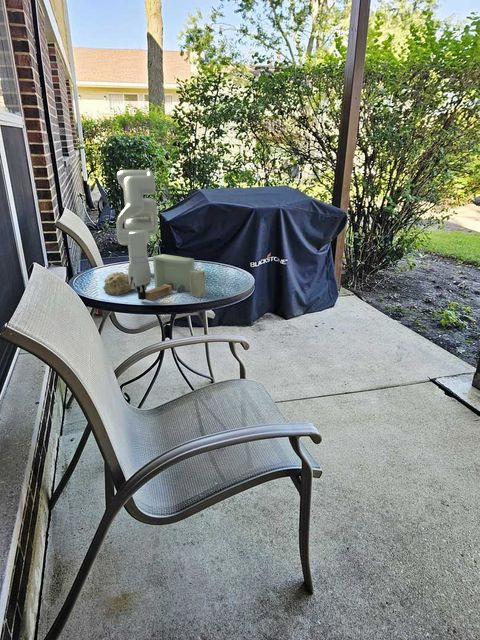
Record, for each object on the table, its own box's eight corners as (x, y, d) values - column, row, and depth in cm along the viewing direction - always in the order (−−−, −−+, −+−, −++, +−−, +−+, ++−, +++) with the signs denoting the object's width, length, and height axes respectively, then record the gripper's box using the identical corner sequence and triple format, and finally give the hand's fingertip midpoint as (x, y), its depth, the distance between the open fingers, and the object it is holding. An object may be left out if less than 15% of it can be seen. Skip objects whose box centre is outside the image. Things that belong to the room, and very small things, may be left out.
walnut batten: (144, 299, 193) (143, 291, 192) (165, 291, 205) (165, 284, 204) (150, 300, 191) (150, 293, 190) (171, 292, 203) (171, 285, 202)
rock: (116, 285, 218) (119, 266, 215) (141, 293, 217) (145, 274, 214) (96, 292, 199) (99, 272, 196) (123, 300, 197) (127, 280, 194)
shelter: (155, 288, 209) (152, 256, 204) (164, 285, 215) (162, 254, 209) (186, 294, 200) (184, 261, 194) (195, 291, 205) (194, 258, 199)
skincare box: (206, 296, 197) (205, 271, 193) (199, 298, 194) (198, 272, 190) (196, 293, 201) (196, 268, 197) (190, 295, 198) (189, 270, 194)
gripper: (144, 255, 190) (147, 293, 197) (120, 261, 178) (124, 302, 185) (157, 257, 186) (159, 296, 193) (132, 263, 174) (136, 305, 181)
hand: (142, 299), depth 189 cm, fingers closed
